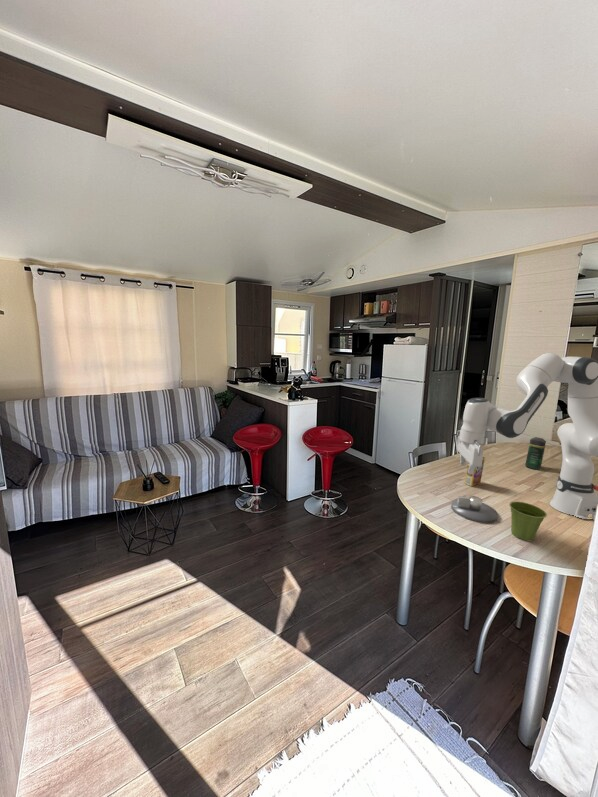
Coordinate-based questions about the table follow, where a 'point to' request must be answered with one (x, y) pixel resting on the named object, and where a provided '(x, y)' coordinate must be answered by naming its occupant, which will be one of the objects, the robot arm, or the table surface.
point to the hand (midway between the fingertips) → (466, 469)
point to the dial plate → (476, 513)
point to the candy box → (474, 475)
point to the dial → (470, 502)
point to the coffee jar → (535, 453)
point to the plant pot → (525, 520)
